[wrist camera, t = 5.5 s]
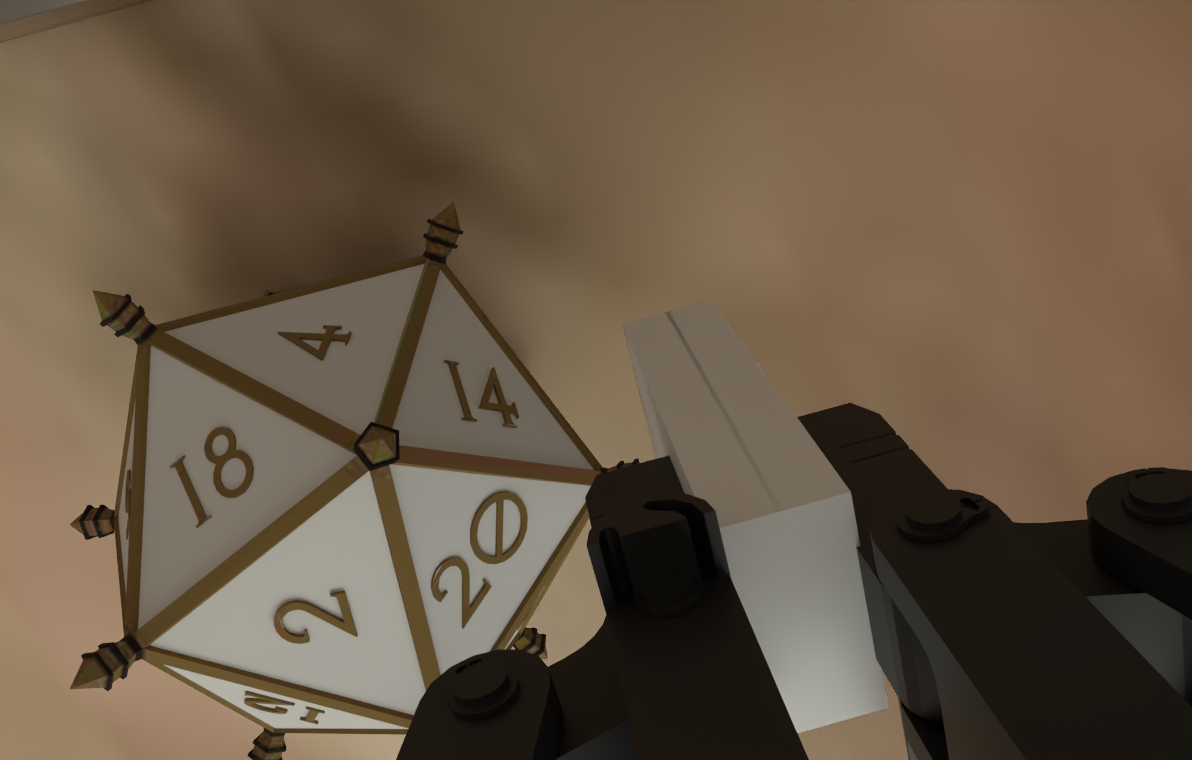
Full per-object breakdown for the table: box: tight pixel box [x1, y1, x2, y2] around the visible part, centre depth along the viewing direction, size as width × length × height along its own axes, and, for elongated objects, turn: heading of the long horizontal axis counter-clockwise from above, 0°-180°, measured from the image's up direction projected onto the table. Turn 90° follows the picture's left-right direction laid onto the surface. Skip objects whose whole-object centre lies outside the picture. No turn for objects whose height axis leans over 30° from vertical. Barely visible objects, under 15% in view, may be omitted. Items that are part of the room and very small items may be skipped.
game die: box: [70, 202, 640, 760], centre depth 17 cm, size 9×8×10 cm
